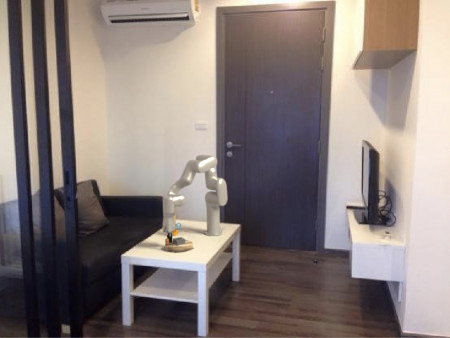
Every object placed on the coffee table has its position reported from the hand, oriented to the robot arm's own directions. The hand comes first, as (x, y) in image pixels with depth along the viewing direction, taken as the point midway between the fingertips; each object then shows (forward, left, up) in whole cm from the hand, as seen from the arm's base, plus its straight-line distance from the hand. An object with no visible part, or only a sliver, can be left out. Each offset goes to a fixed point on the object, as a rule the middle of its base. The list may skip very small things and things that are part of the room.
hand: (169, 241), depth 286 cm
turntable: (-3, +7, -4) cm, 8 cm away
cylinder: (-17, -23, -4) cm, 29 cm away
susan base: (-3, +7, -4) cm, 8 cm away
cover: (-3, +7, 0) cm, 8 cm away
